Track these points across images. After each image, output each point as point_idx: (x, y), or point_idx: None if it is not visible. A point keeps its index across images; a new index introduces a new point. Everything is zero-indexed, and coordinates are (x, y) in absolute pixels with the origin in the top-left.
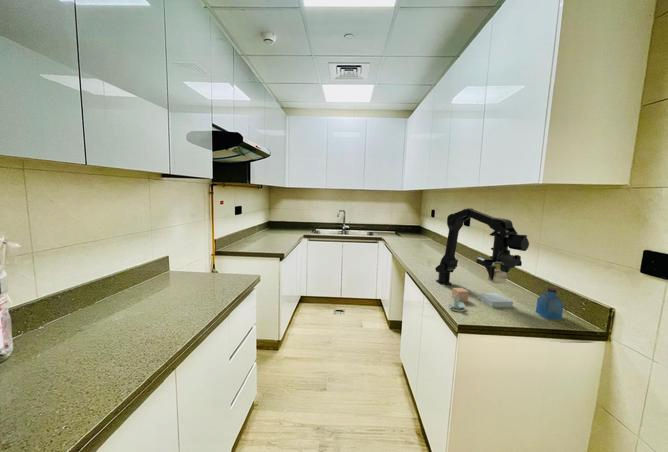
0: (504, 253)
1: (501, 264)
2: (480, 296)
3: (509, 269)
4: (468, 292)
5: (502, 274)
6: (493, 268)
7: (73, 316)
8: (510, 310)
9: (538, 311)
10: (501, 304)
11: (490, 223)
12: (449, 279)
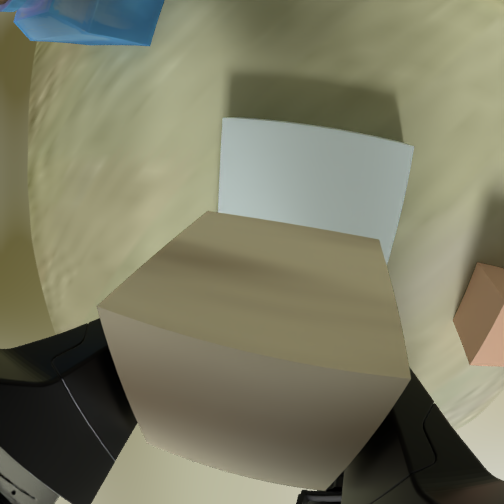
0: None
1: (78, 498)
2: None
3: (7, 352)
4: (501, 297)
5: (228, 312)
6: (495, 499)
7: None
8: (304, 67)
9: (148, 21)
10: (328, 127)
11: None
12: None
